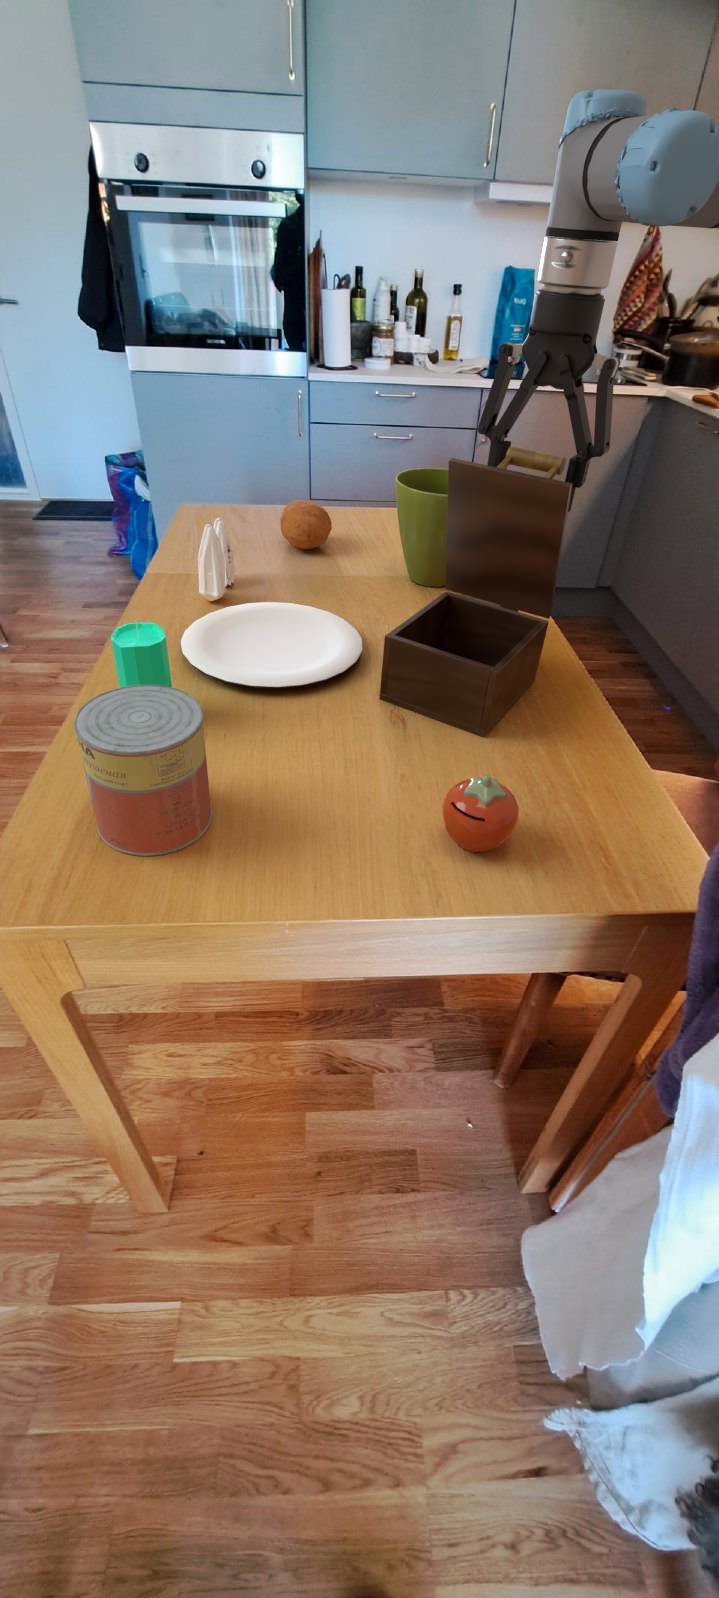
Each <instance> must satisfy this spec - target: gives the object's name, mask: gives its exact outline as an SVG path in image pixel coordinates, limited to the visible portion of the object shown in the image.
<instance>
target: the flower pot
mask: <svg viewBox="0 0 719 1598" xmlns="http://www.w3.org/2000/svg"><path fill="white" fill-rule="evenodd" d="M395 497H396V498H395V499H396V513H397V525H398V530H399V538H400V542H401V549H402V553H403V557H404V558H403V559H404V561H405V566H406V570H407V574H408V577H409V579H410V581H412V582H413V583H415V584H418V585H420V586H424V587H432V588H439V587H440V588H441V587H445V579H446V541H447V504H448V468H441V467H418V468H411V469H407V470H403V471H400V472H398V473H397V474H396V476H395Z"/></svg>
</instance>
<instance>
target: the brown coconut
mask: <svg viewBox="0 0 719 1598" xmlns="http://www.w3.org/2000/svg"><path fill="white" fill-rule="evenodd" d="M279 522H280V531H281V534H282V537H284V538H285V540H286V541H287V542H288V543H289V544H290V545H292V546H293V547H296V548H298V549H301V550H312V549H315V548H318V547H320V546H322V545H324V544H325V543H326V542H327V541H328V538H329V537H330V534H331V532H332V530H333V526H332V523H333V522H332V520H331V517H330V514H329V513H328V511H327V510H326V509H325V508H324V507H323V506H322V505H320V504H319V503H318V502H316V501H314V500H311V499H296V500H293V501H291V502H289V503H287V504H286V505H284V507H283V510H282V512H281V516H280V521H279Z"/></svg>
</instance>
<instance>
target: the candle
mask: <svg viewBox="0 0 719 1598" xmlns="http://www.w3.org/2000/svg"><path fill="white" fill-rule="evenodd" d="M134 621H135V622H127V623H125V624H122V625H120V626H118V627H116V628H115V630H114V631H113V632H112V634H111V636H110V640H111V646H112V652H113V659H114V662H115V669H116V675H117V680H118V688H121V687H127V686H134V685H161V686H167V687H172V688H173V685H172V676H171V668H170V660H169V651H168V644H167V643H168V642H167V636H166V632H165V629H164V628H162V626H160V625H158V624H157V623H156V622H147V621H146V622H145V621H142V622H141V621H140V622H138V621H136V620H134Z"/></svg>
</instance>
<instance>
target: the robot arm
mask: <svg viewBox="0 0 719 1598" xmlns="http://www.w3.org/2000/svg"><path fill="white" fill-rule="evenodd" d="M647 109H648V102H647V98H646V96H645V95H644V94H643V93H640V92H637V91H632V90H625V89H613V88H612V89H611V88H599V89H586V90H581V91H579V92H577V93H576V94H575V95H574V96H572V98H571V100H570V102H569V104H568V106H567V111H566V116H565V122H564V127H563V131H562V135H561V137H560V139H559V143H558V149H557V150H558V155H557V160H556V167H555V168H556V169H555V173H554V180H553V186H552V192H551V198H550V205H549V211H548V216H547V223H546V230H545V234H544V235H545V236H544V241H543V246H542V252H541V258H540V263H539V270H538V276H537V281H538V283H539V284H540V285H542V286H541V289H537V291H536V292H535V293H534V298H533V304H532V310H531V315H530V321H529V326H528V327H529V328H528V329H529V330H528V334H527V336H526V338H525V340H524V341H523V343H522V342H521V343H515V342H513V341H509V342H505V343H502V344H500V345H499V346H498V353H497V355H498V356H497V368H496V371H495V374H494V377H493V381H492V383H491V387H490V390H489V392H488V396H487V399H486V401H485V405H484V407H483V411H482V414H481V417H480V420H479V423H478V426H477V433H478V434H480V435H484V436H485V437H486V438H488V439H489V442H490V445H489V450H488V458H487V464H486V465H488V466H493V467H497V466H498V465H499V464H500V463H501V462H502V461H503V460H504V459H505V458H506V454H507V451H508V449H509V447H511V446H512V441H510V440H505V439H507V438H508V437H509V436H508V434H509V433H510V432H511V430H512V428H513V427H514V425H515V423H516V422H517V421H518V419H519V417H520V415H521V414H522V412H523V410H524V409H525V407H526V406H527V404H528V402H529V401H530V399H531V398H532V397H533V394H534V393H535V391H537V389H539V387H542V388H543V387H551V388H553V389H556V390H561V391H562V390H563V396H564V398H565V400H566V403H567V408H568V414H569V419H570V424H571V430H572V435H573V440H574V446H575V451H576V454H575V455H574V456H572V457H570V458H569V461H568V466H567V470H566V475H565V478H564V479H565V480H564V482H568V483H572V489H571V496H570V502H569V508H568V513H569V512H571V509H572V505H573V502H574V496H575V493H576V489H580V488H582V487H583V486H584V484H585V483H586V481H587V476H588V472H589V468H590V463H591V460H592V458H600V457H602V456H603V455H605V454H607V453H608V452H609V451H610V449H611V436H612V435H611V434H612V419H613V403H614V402H613V401H614V387H615V386H614V385H615V383H614V382H615V379H616V377H617V374H618V372H619V369H620V366H621V359H620V357H619V356H612V357H610V356H607V355H605V354H601V353H599V352H598V348H597V338H598V333H599V329H600V324H601V320H602V316H603V310H604V306H605V301H606V298H605V296H604V295H603V294H602V290H605V289H607V288H608V287H609V285H610V279H611V275H612V270H613V265H614V261H615V257H616V252H617V246H618V242H619V239H620V233H621V229H622V224H623V223H629V224H631V223H632V224H638V225H642V226H644V227H645V226H646V227H650V226H655V227H669V226H670V227H684V228H700V229H719V119H717V118H712V117H711V116H710V115H709V114H707V113H706V112H703V111H699V110H692V109H680V108H679V109H678V108H677V107H675V108H669V109H665V110H664V111H662V112H657V113H654V114H653V113H652V114H647ZM521 356H522V357H523V359H524V362H525V364H526V367H527V369H528V370H527V372H526V373H525V375H524V377H523V379H522V380H521V382H520V384H519V387H518V389H517V391H516V392H515V394H514V395H513V397H512V398H511V400H510V402H509V404H508V405H507V407H506V409H505V411H504V412H503V414H502V415H501V417H500V419H499V421H498V417H499V416H500V413H501V409H502V406H503V403H504V400H505V397H506V394H507V392H508V389H509V386H510V382H511V380H512V377H513V374H514V371H515V367H516V365H517V364H518V363H519V362H520V360H521ZM592 366H593V367H594V376H595V378H597V383H596V390H595V391H596V392H595V393H596V395H595V413H594V414H595V415H594V433H593V435H594V436H593V438H592V433H591V427H590V421H589V416H588V410H587V404H586V398H585V385H584V380H583V376H584V374H585V373H586V372H587V371H588V370H589V369H590V368H591V367H592ZM497 421H498V422H497ZM506 469H507V470H508V467H507V468H506Z"/></svg>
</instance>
